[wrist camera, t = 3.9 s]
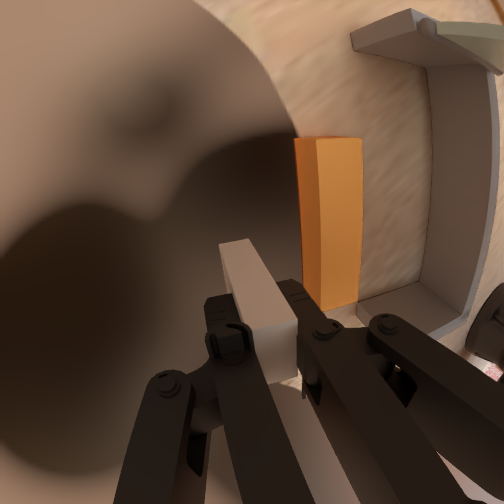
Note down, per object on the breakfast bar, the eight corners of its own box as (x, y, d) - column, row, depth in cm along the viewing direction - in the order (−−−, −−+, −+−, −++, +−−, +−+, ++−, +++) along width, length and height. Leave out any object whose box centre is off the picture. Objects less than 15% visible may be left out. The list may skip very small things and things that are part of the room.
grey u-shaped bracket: (425, 289, 27) (465, 322, 20) (355, 315, 25) (395, 361, 19) (433, 56, 16) (489, 52, 10) (350, 33, 15) (410, 8, 8)
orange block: (336, 279, 23) (357, 301, 20) (302, 288, 23) (320, 312, 19) (333, 136, 18) (361, 138, 15) (293, 138, 18) (315, 139, 14)
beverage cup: (494, 357, 51) (520, 384, 38) (486, 371, 53) (510, 397, 41) (484, 365, 50) (512, 394, 37) (476, 379, 52) (501, 407, 40)
